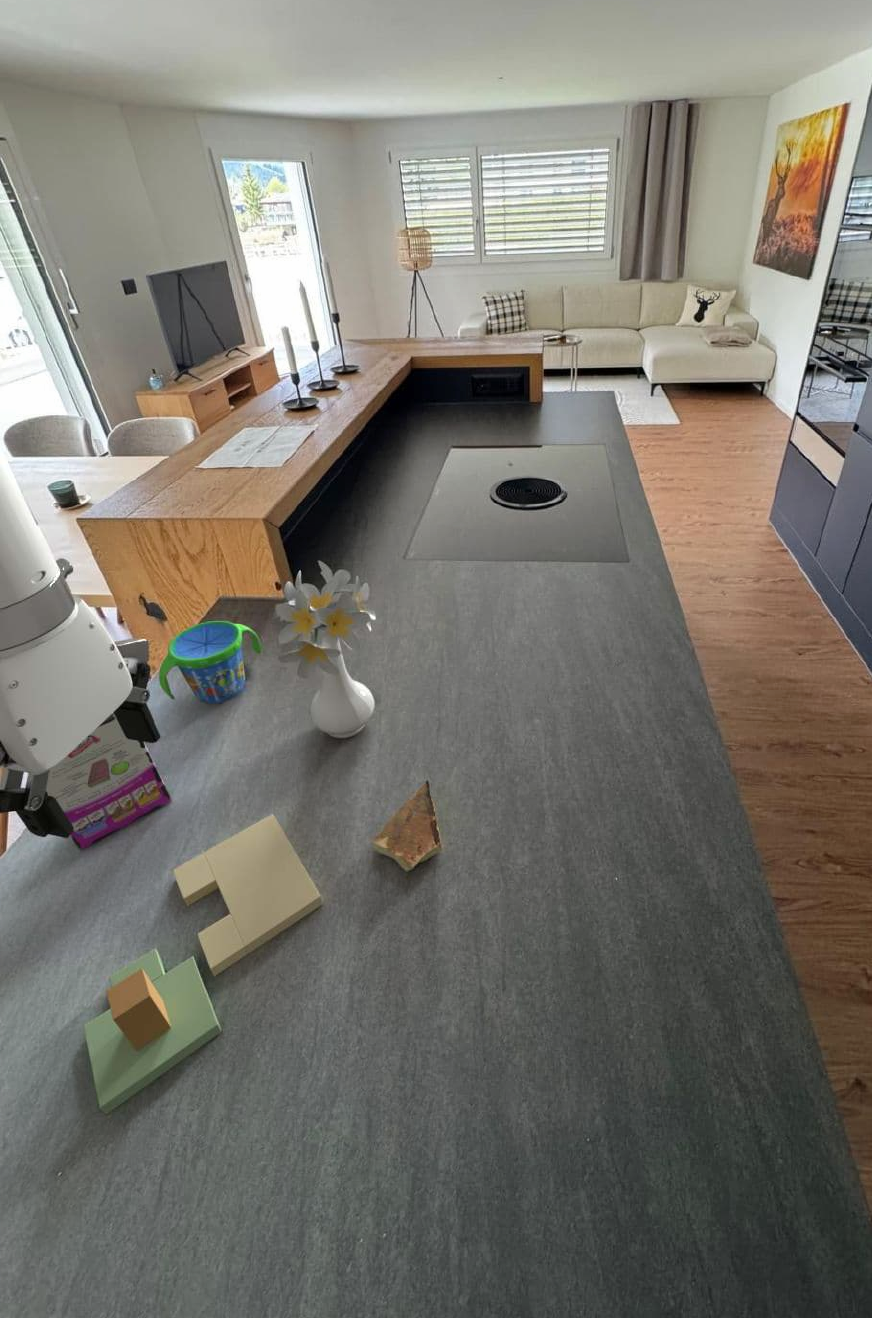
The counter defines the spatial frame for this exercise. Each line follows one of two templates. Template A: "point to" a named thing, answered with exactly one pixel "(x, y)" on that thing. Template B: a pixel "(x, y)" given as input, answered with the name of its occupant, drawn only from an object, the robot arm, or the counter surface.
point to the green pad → (163, 1050)
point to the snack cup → (209, 660)
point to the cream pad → (248, 891)
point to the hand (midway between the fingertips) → (103, 781)
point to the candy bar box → (106, 784)
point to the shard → (411, 831)
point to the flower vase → (329, 647)
